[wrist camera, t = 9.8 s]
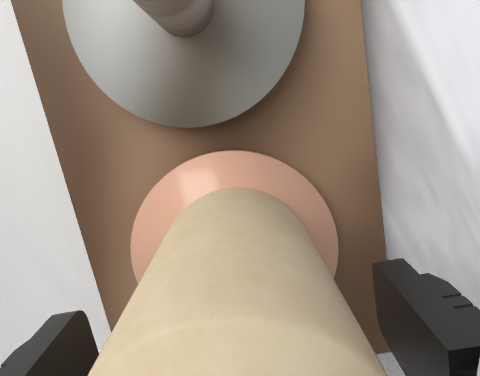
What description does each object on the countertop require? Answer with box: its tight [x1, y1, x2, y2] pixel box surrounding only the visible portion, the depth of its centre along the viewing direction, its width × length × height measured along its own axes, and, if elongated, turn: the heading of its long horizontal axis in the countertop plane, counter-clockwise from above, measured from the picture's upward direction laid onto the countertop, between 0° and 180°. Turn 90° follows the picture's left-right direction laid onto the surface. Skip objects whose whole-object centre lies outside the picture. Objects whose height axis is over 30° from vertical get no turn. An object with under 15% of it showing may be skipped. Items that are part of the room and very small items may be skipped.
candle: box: [88, 187, 388, 376], centre depth 9 cm, size 6×6×10 cm
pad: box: [130, 149, 339, 284], centre depth 14 cm, size 8×8×1 cm
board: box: [11, 0, 392, 354], centre depth 11 cm, size 12×20×8 cm, turn 11°
